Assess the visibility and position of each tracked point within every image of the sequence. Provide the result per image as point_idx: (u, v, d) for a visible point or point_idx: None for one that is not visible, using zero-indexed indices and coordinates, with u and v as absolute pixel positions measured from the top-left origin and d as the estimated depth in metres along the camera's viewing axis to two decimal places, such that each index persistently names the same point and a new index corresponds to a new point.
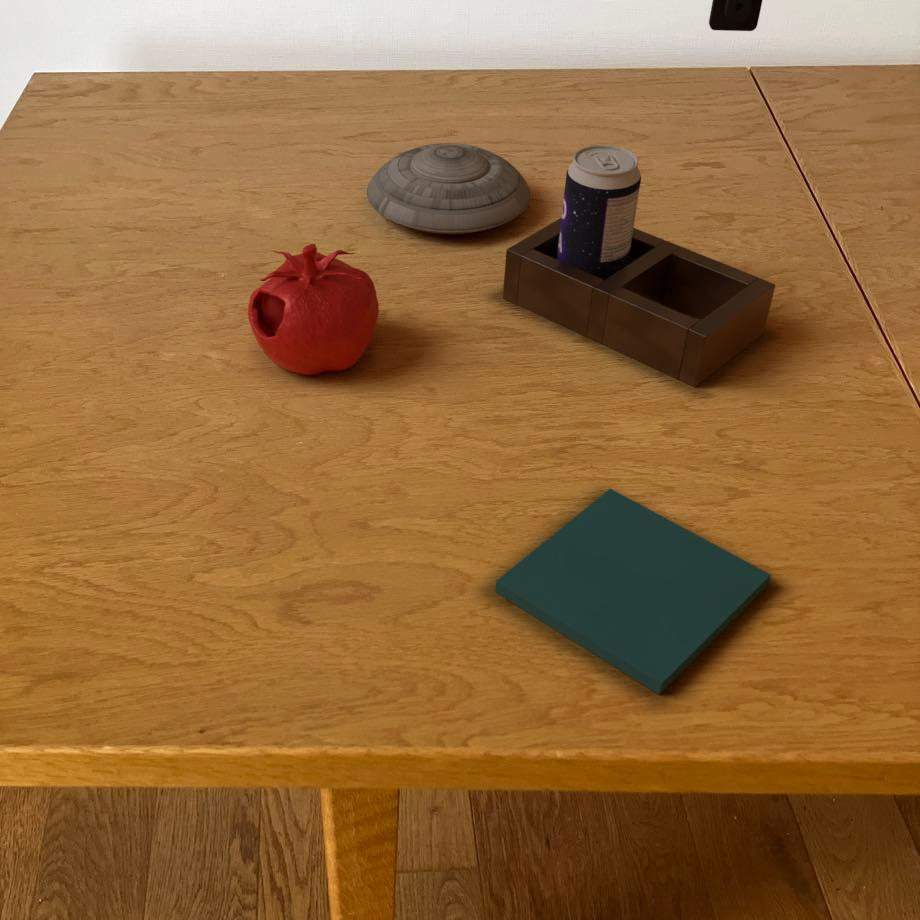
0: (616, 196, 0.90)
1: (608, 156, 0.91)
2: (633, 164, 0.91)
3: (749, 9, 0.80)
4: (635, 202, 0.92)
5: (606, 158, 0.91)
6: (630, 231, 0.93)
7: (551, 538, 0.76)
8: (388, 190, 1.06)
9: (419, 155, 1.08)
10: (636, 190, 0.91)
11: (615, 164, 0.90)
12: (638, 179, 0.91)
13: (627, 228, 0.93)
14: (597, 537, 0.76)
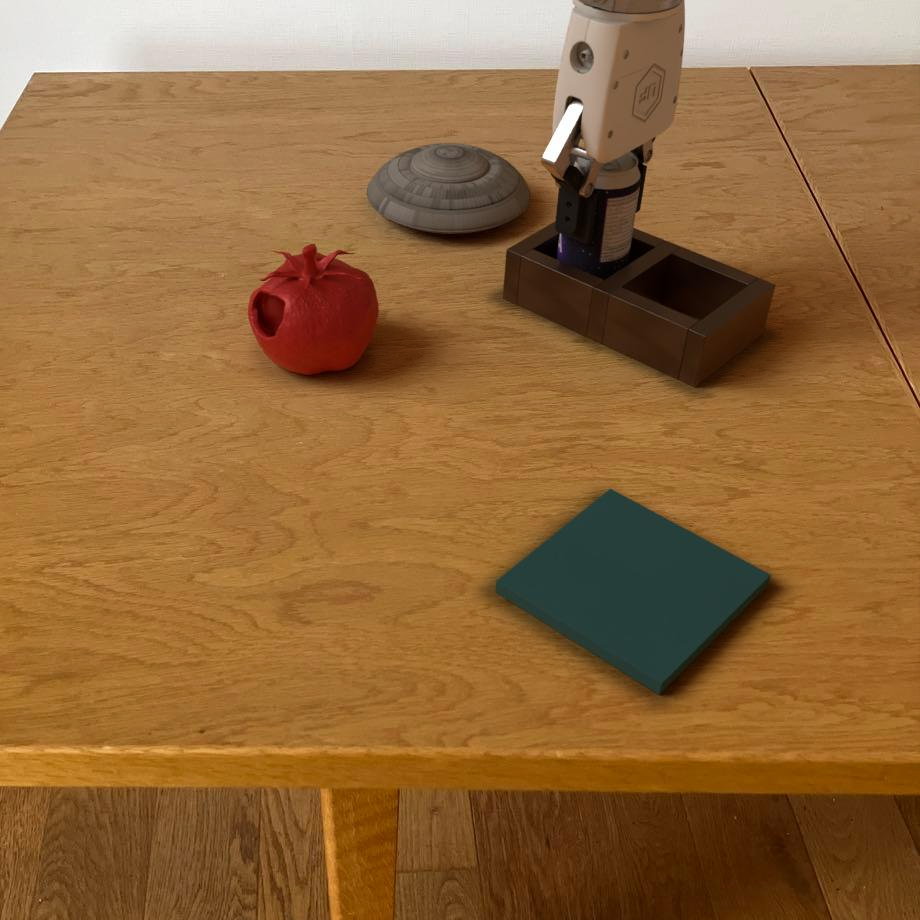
0: (616, 195, 0.90)
1: None
2: (633, 164, 0.91)
3: (575, 224, 0.91)
4: (635, 202, 0.92)
5: None
6: (630, 231, 0.93)
7: (551, 538, 0.76)
8: (388, 190, 1.06)
9: (419, 155, 1.08)
10: (636, 190, 0.91)
11: (615, 164, 0.90)
12: (638, 179, 0.91)
13: (627, 228, 0.93)
14: (597, 537, 0.76)
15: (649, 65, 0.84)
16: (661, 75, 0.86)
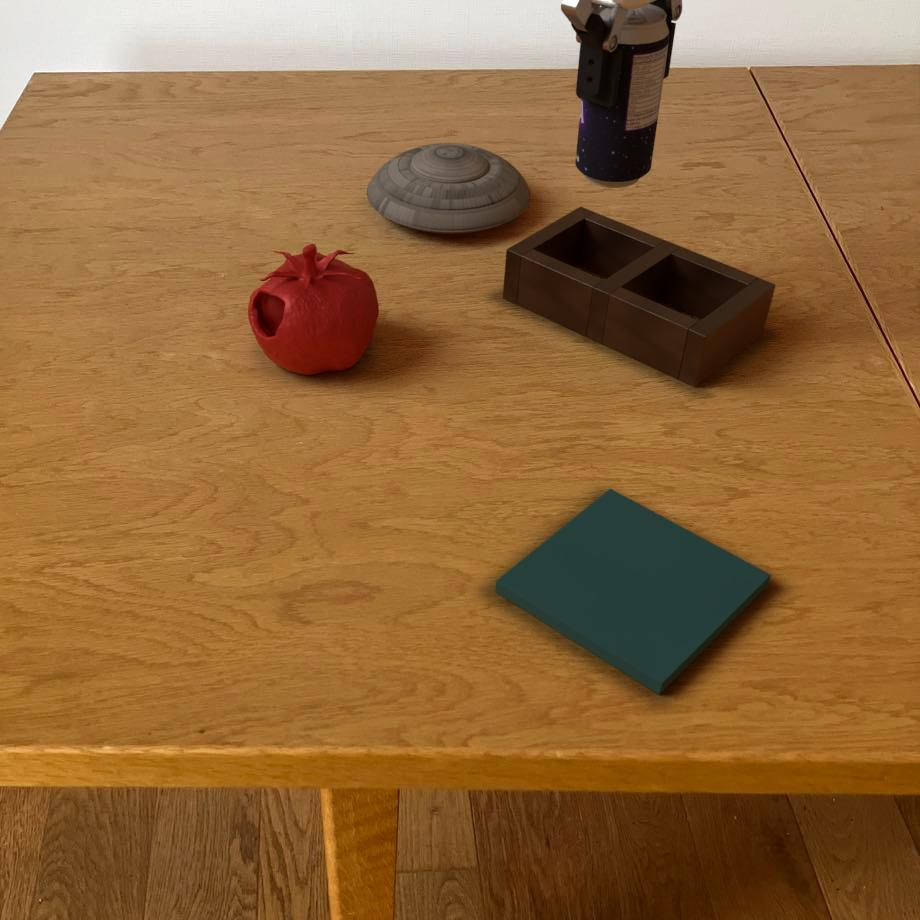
0: (642, 52, 0.82)
1: (633, 11, 0.84)
2: (661, 18, 0.83)
3: (598, 84, 0.83)
4: (663, 61, 0.84)
5: (631, 13, 0.84)
6: (658, 95, 0.86)
7: (551, 538, 0.76)
8: (388, 190, 1.06)
9: (419, 155, 1.08)
10: (664, 47, 0.83)
11: (641, 18, 0.83)
12: (666, 34, 0.83)
13: (654, 91, 0.85)
14: (597, 537, 0.76)
15: None
16: None
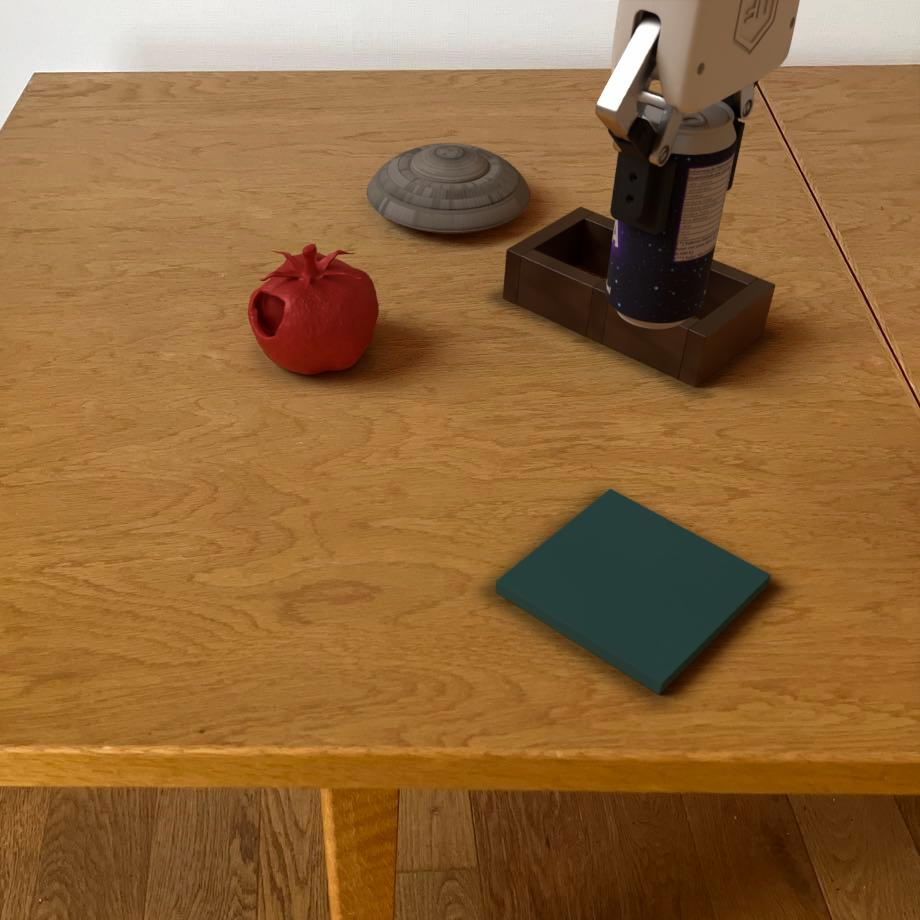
0: (701, 164, 0.61)
1: None
2: (727, 118, 0.62)
3: (641, 206, 0.62)
4: (728, 174, 0.63)
5: None
6: (718, 217, 0.65)
7: (551, 538, 0.76)
8: (388, 190, 1.06)
9: (419, 155, 1.08)
10: (730, 157, 0.62)
11: (700, 119, 0.62)
12: (734, 140, 0.62)
13: (714, 212, 0.64)
14: (597, 537, 0.76)
15: None
16: None
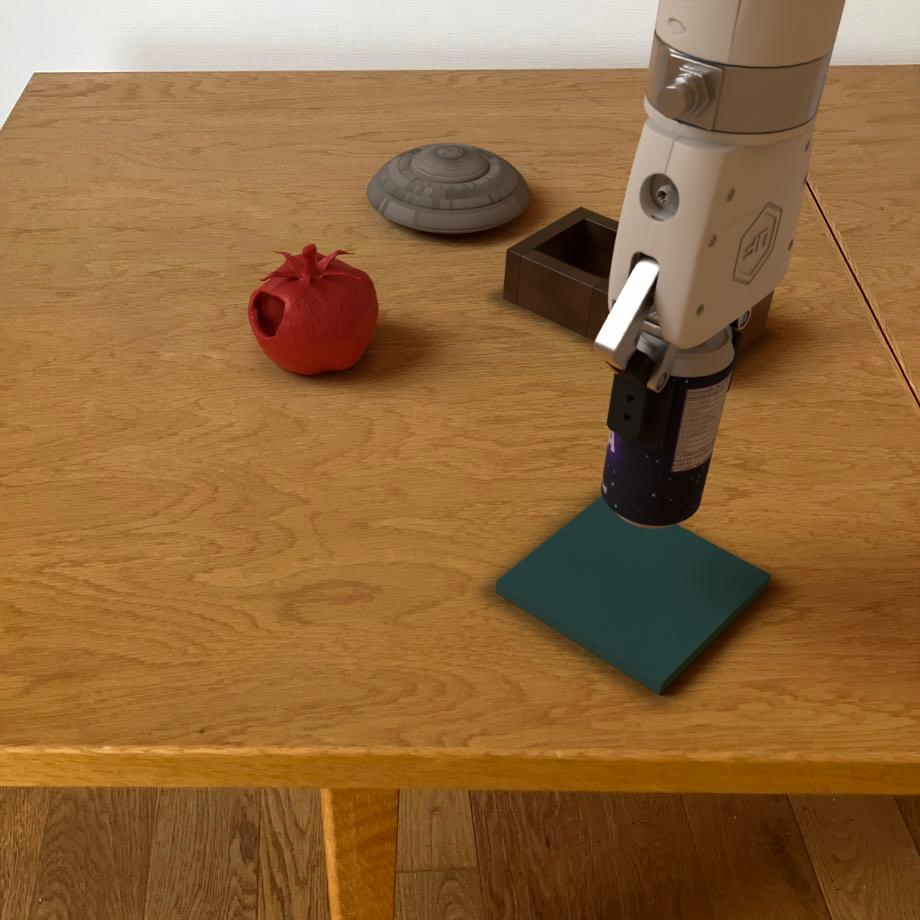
0: (700, 385, 0.60)
1: None
2: (724, 336, 0.61)
3: (639, 426, 0.61)
4: (726, 390, 0.62)
5: None
6: (716, 428, 0.64)
7: (551, 538, 0.76)
8: (388, 190, 1.06)
9: (419, 155, 1.08)
10: (728, 374, 0.61)
11: None
12: (732, 358, 0.61)
13: (712, 425, 0.63)
14: (597, 537, 0.76)
15: (762, 205, 0.54)
16: (777, 216, 0.56)
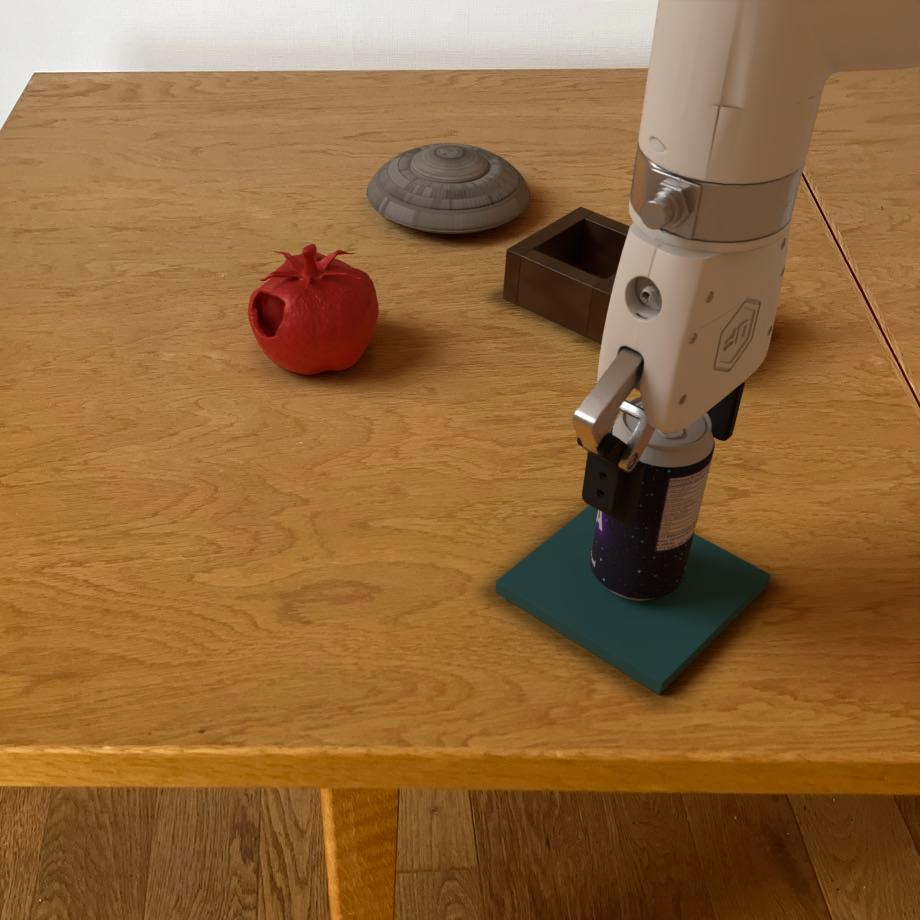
0: (681, 475, 0.64)
1: None
2: (705, 428, 0.65)
3: (612, 502, 0.63)
4: (706, 476, 0.66)
5: None
6: (698, 510, 0.68)
7: (551, 538, 0.76)
8: (388, 190, 1.06)
9: (419, 155, 1.08)
10: (708, 463, 0.65)
11: None
12: (711, 448, 0.65)
13: (694, 509, 0.67)
14: None
15: (740, 302, 0.58)
16: (755, 309, 0.59)
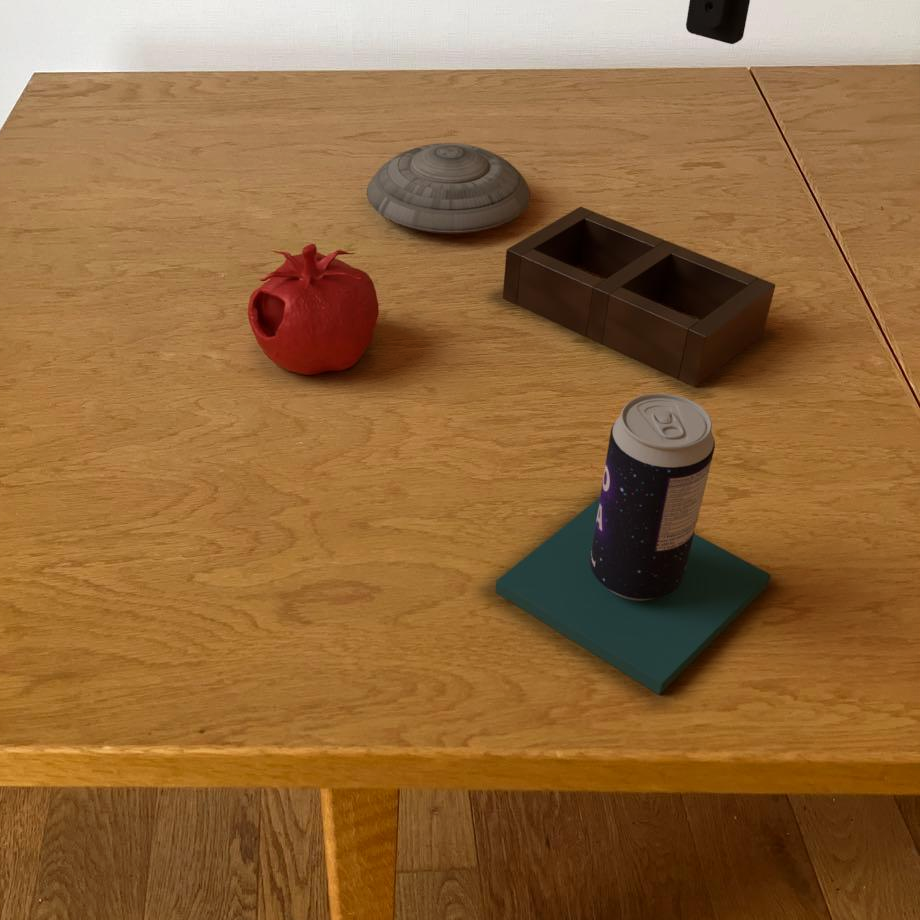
0: (681, 475, 0.64)
1: (669, 413, 0.66)
2: (705, 428, 0.65)
3: (721, 13, 0.63)
4: (706, 476, 0.66)
5: (666, 417, 0.65)
6: (698, 510, 0.68)
7: (551, 538, 0.76)
8: (388, 190, 1.06)
9: (419, 155, 1.08)
10: (708, 463, 0.65)
11: (680, 429, 0.65)
12: (711, 448, 0.65)
13: (694, 509, 0.67)
14: None
15: None
16: None
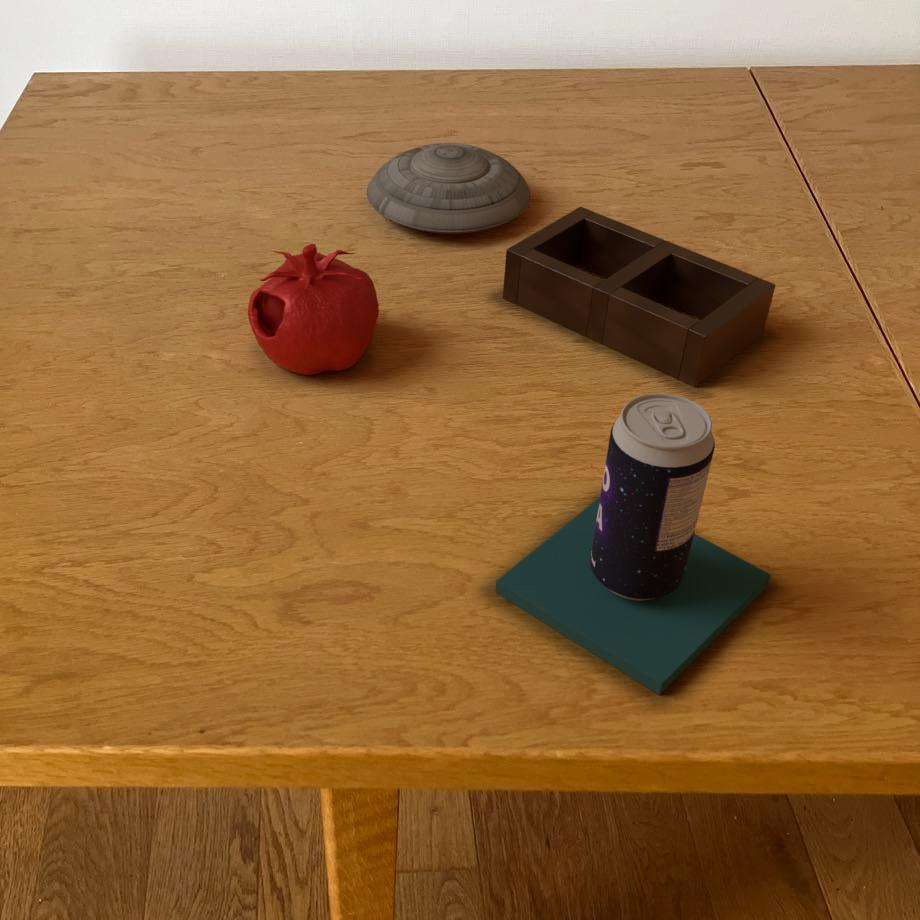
0: (681, 475, 0.64)
1: (669, 413, 0.66)
2: (705, 428, 0.65)
3: None
4: (706, 476, 0.66)
5: (666, 417, 0.65)
6: (698, 510, 0.68)
7: (551, 538, 0.76)
8: (388, 190, 1.06)
9: (419, 155, 1.08)
10: (708, 463, 0.65)
11: (680, 429, 0.65)
12: (711, 448, 0.65)
13: (694, 509, 0.67)
14: None
15: None
16: None
